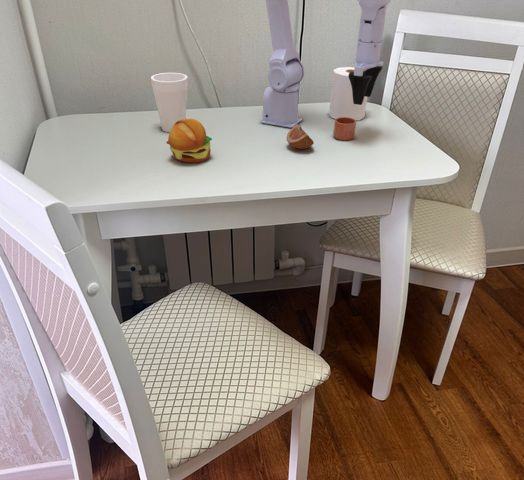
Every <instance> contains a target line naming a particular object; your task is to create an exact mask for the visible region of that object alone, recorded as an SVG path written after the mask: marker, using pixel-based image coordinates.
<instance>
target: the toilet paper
mask: <svg viewBox="0 0 524 480" xmlns="http://www.w3.org/2000/svg"><path fill="white" fill-rule="evenodd" d="M354 68H355V66H343V67H342V66H341V67H337V68H335V69H333V70H332V81H331V91H330V103H329V116H330V118H332V119H334V120H335V119H336V118H340V117H348V118H352V119H355V120H356V121H361V120H363V119H364V118H366V117H365V116H366V110H367V109H366V108H367V102H368V97H366V96H365V97H364V100H363V103H362V105H358V104H354V103H353V93H352V86H351V82H350V80H349V73H350V72H354Z"/></svg>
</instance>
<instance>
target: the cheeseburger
mask: <svg viewBox="0 0 524 480" xmlns="http://www.w3.org/2000/svg"><path fill="white" fill-rule="evenodd" d="M206 131H207V130H206V127H204V125H203V124H202V123H201V121H199V120H197V119H196V118H186V119H184V120H180V121H177V122H176V123H175V124H174V126H173V128H172V130H171V132H169V134H168V137H167V139H168V140H167V141H165V142H166V144H167V145H169V150H170V152H171V153H172V155H173V158H174V159H176V160H177V161H180V162H184V163H200V162H203V161H206V160H207V159H209V158H210V155H211V141H212V140H213V138H211V137H210V136H208V135H207V132H206Z"/></svg>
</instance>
